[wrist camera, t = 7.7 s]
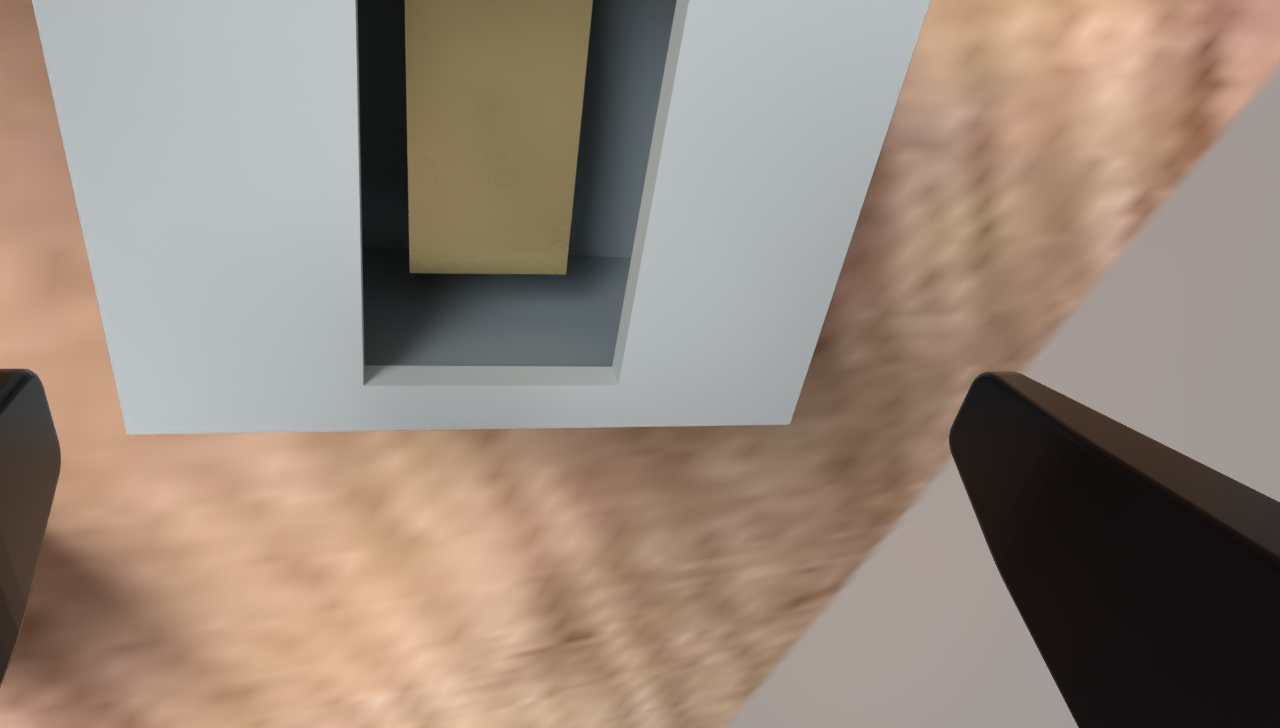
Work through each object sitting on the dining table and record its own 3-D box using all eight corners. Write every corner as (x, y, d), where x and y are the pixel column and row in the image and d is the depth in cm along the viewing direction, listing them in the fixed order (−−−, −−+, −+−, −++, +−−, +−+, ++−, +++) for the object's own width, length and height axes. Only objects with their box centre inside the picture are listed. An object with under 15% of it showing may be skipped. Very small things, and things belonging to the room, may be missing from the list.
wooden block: (569, -87, 16) (598, -55, 14) (546, 208, 19) (565, 274, 17) (402, -106, 15) (402, -76, 13) (408, 204, 19) (409, 272, 16)
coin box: (812, -172, 17) (974, -135, 12) (707, 277, 22) (789, 424, 18) (114, -307, 13) (-39, -326, 9) (194, 259, 19) (126, 434, 14)
